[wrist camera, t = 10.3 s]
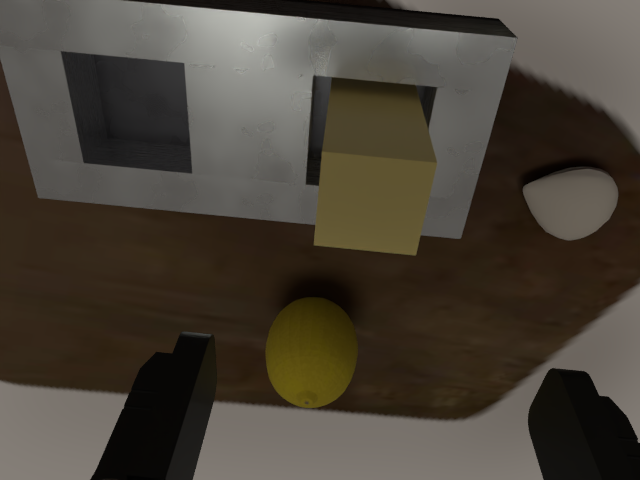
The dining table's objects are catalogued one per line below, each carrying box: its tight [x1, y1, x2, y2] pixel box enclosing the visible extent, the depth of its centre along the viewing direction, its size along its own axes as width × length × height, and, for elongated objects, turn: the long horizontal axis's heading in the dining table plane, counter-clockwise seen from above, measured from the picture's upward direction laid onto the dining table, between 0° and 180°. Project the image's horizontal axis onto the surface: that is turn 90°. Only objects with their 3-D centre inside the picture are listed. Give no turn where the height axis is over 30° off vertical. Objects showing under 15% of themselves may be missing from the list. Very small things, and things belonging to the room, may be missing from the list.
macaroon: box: [523, 167, 618, 241], centre depth 28 cm, size 4×5×2 cm
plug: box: [314, 77, 437, 255], centre depth 23 cm, size 5×4×9 cm
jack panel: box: [0, 0, 517, 239], centre depth 25 cm, size 10×22×4 cm, turn 86°
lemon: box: [266, 297, 358, 408], centre depth 31 cm, size 6×6×8 cm
